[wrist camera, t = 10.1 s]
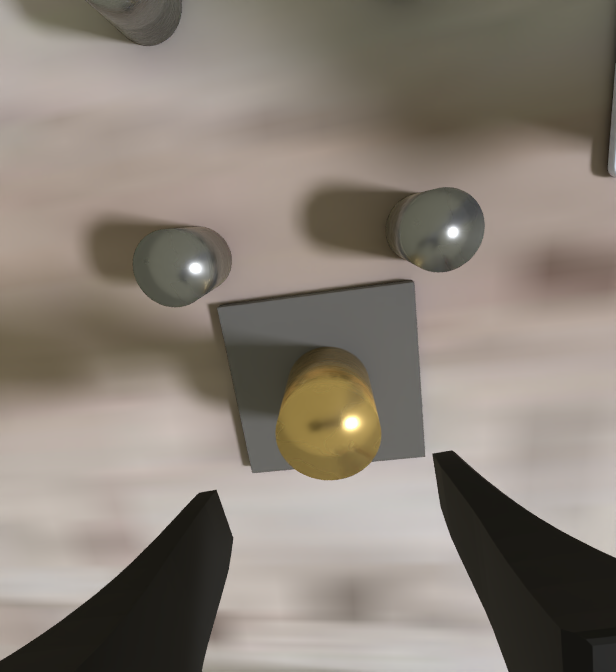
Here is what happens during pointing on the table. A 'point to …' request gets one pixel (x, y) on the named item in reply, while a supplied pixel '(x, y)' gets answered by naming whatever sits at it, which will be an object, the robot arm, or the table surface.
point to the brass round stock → (328, 416)
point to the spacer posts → (212, 250)
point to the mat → (327, 331)
